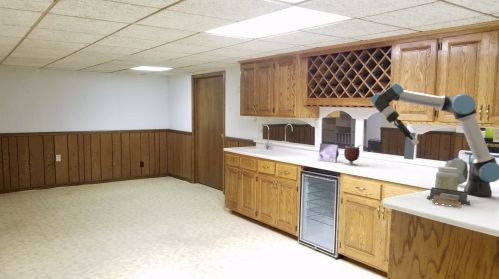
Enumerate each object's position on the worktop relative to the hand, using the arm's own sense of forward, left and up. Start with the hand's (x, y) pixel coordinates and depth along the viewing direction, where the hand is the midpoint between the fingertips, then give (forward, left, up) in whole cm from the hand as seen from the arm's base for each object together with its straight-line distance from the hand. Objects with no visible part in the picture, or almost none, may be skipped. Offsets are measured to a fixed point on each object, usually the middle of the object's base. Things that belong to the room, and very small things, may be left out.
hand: (417, 143), depth 229 cm
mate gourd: (+3, -132, -30) cm, 135 cm away
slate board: (+3, -2, -10) cm, 10 cm away
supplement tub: (-20, 0, -30) cm, 36 cm away
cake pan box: (+22, -150, -30) cm, 155 cm away
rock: (-48, -44, -30) cm, 72 cm away
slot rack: (-13, +17, -30) cm, 37 cm away
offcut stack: (-7, +27, -30) cm, 41 cm away
